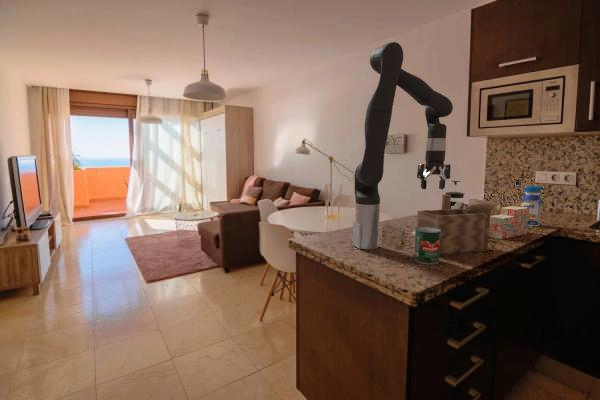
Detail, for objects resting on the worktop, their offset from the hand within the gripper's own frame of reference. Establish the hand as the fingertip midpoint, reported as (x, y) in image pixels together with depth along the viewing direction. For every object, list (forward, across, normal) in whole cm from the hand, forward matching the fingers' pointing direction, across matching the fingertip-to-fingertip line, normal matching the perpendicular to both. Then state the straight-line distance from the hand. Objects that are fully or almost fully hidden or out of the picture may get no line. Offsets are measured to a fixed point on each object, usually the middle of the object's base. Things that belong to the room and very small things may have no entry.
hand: (432, 189), depth 136 cm
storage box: (+22, -3, -15) cm, 27 cm away
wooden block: (+22, +18, +8) cm, 29 cm away
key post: (+21, +9, -15) cm, 28 cm away
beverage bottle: (+20, +68, +12) cm, 73 cm away
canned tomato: (+22, -19, -24) cm, 38 cm away
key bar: (+6, +12, -15) cm, 20 cm away
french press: (+21, +30, +20) cm, 42 cm away
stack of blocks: (+21, +40, -2) cm, 45 cm away
